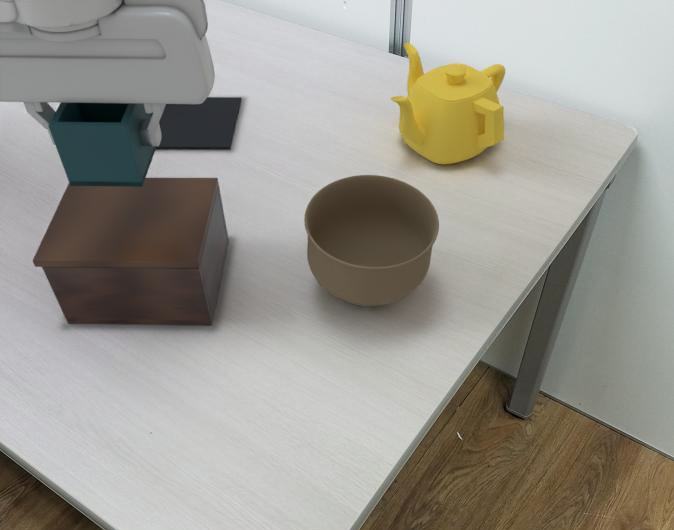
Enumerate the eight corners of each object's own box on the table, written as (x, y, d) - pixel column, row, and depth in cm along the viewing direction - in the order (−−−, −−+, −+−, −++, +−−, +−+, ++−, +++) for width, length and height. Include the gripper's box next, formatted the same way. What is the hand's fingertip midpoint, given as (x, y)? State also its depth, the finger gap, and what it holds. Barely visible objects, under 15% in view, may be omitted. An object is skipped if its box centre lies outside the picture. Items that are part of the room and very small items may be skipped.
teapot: (400, 109, 95) (404, 38, 88) (500, 117, 93) (513, 45, 86) (387, 169, 86) (390, 95, 79) (497, 179, 85) (511, 104, 77)
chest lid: (35, 267, 64) (32, 260, 64) (73, 183, 73) (71, 177, 72) (198, 268, 64) (197, 261, 63) (218, 184, 72) (217, 177, 71)
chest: (67, 323, 70) (41, 267, 64) (100, 240, 78) (79, 183, 73) (212, 325, 70) (198, 268, 64) (229, 241, 78) (218, 184, 72)
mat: (122, 149, 90) (121, 146, 90) (142, 99, 98) (141, 97, 98) (230, 149, 90) (229, 147, 89) (241, 99, 97) (241, 97, 97)
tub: (70, 186, 61) (47, 125, 57) (89, 143, 65) (70, 84, 61) (142, 187, 61) (126, 126, 56) (157, 144, 65) (143, 85, 61)
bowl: (354, 355, 67) (353, 280, 59) (286, 278, 74) (278, 203, 66) (456, 301, 71) (468, 225, 64) (383, 233, 78) (386, 158, 71)
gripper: (208, -39, 53) (230, 123, 63) (-59, -41, 53) (7, 120, 64) (193, -3, 48) (220, 165, 59) (-96, -5, 49) (-19, 161, 60)
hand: (107, 142), depth 61 cm, fingers closed on tub, 6 cm apart
